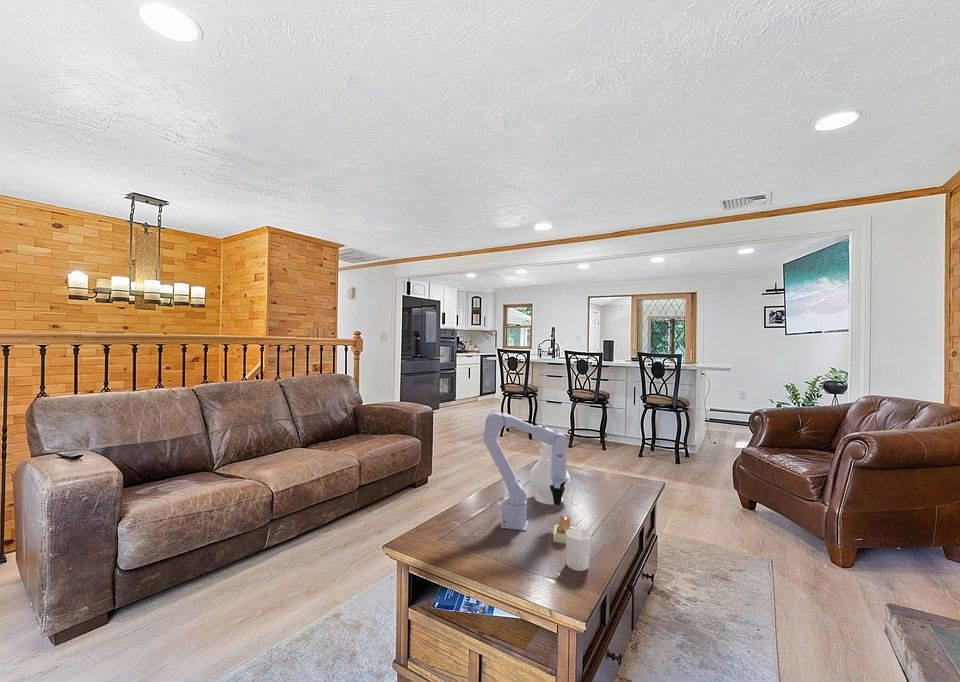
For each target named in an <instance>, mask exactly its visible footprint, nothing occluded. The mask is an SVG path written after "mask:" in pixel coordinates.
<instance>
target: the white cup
mask: <svg viewBox="0 0 960 682" xmlns="http://www.w3.org/2000/svg"><path fill="white" fill-rule="evenodd" d="M591 547H592V534H591V532H589V531H587V530H585V529H583V528H582V529H581V528H577V527H575V528H573V529H568V530H567V531H566V544H565V554H566V555H565V556H566V566H567V567H568V568H569V569H570V570H572V571H577V572H584V571H587V570H588V569H589V568H590V567H589V566H590V559H591V558H590V557H591Z"/></svg>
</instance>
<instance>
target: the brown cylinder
mask: <svg viewBox="0 0 960 682" xmlns="http://www.w3.org/2000/svg"><path fill="white" fill-rule="evenodd" d="M558 525H559V529H558V533H563V534H566V531H567V530H568V529H570V527H571V517H570V516H568V515H560V516H558Z"/></svg>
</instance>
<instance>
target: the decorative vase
mask: <svg viewBox="0 0 960 682" xmlns="http://www.w3.org/2000/svg"><path fill="white" fill-rule="evenodd" d="M552 446H553V445H548V444H545V443H543V442H541V448H539V455H540V456H541V457H542V458H540V460H539V461H537V462H536V463H535V464H534V466H533V467H532V469H531V470H530V472H529V477H528V478H529V483H530V486H531V487H532V488H533V490H534V491H535V493H536V494H535V496H534V499H535V501H536V502H537V503H540V504H544V505H553V506H555V505H554V501H553V495H552V492H551V490H550V485H554V484H553V482H552V480H551V479H550V476H551V453H552ZM566 477H569V480H566V482H565V485H564V487H565V490H564V492H563V494H564V493H565V492H566V490H567V489H568V488H569V486H570V484H571V476H570V474H569V471H568V470H567V469H566ZM563 502H564V497H563V496H562V499H561V504H562V503H563Z"/></svg>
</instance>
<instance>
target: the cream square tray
mask: <svg viewBox="0 0 960 682" xmlns="http://www.w3.org/2000/svg"><path fill="white" fill-rule="evenodd" d="M573 528H576V527H575V526H570V529H573ZM558 529H559V524H554V525H553V532H552V542H553V543H557V544H565V545H566V534H563V533H558Z"/></svg>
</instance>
